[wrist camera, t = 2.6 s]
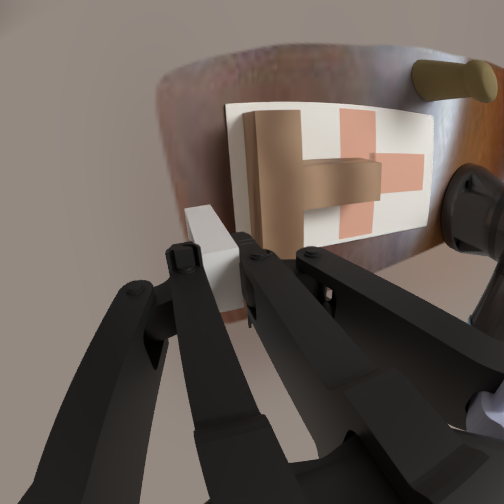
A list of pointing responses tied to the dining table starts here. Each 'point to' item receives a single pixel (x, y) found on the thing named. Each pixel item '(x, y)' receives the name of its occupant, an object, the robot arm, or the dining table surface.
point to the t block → (295, 180)
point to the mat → (350, 146)
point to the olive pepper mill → (454, 80)
